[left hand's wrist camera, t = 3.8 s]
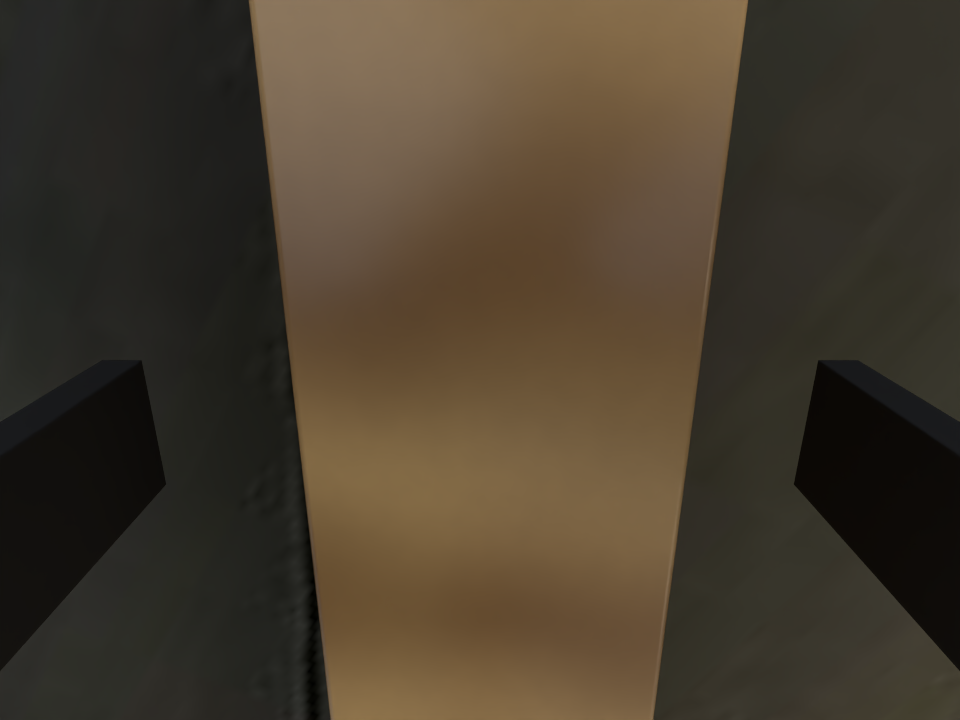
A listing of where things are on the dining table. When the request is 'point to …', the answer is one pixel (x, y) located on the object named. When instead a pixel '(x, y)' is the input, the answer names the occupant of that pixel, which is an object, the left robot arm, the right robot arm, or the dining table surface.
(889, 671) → the dining table surface
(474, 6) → the bar
